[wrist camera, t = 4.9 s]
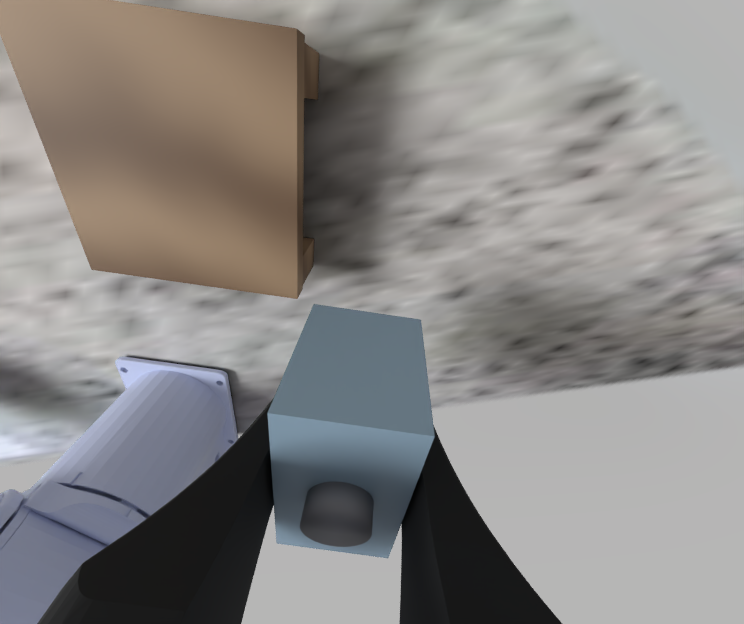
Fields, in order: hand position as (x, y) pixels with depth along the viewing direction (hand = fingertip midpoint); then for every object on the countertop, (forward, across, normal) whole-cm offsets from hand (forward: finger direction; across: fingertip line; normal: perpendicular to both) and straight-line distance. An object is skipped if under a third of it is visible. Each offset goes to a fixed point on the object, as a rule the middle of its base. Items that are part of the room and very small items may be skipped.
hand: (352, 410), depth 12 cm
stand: (+8, +8, -7) cm, 14 cm away
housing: (+2, 0, 0) cm, 2 cm away
